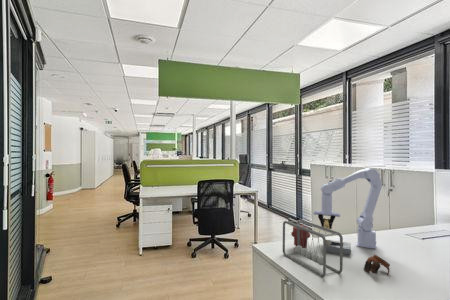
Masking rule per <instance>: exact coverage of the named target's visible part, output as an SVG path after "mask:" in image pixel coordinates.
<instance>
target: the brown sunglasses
mask: <svg viewBox="0 0 450 300" xmlns="http://www.w3.org/2000/svg"><path fill="white" fill-rule="evenodd" d="M381 266H383V267H384V268H385V269H387V272H386V274H387V275H389V273H390V266H391V264H390V263H389V262H387V261H386V260H385V259H383V258H382V257H380V256H378V255H376V254H373V255H372V256H370V257H368V258H367V260H366V261H365V264H364V267H363V271H365V272H366V273H368V274H370V272H371V274H375V275H377V274H378V271H379V270H380V268H381Z"/></svg>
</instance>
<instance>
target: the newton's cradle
mask: <svg viewBox="0 0 450 300" xmlns="http://www.w3.org/2000/svg"><path fill="white" fill-rule="evenodd" d="M294 222H295V223H294ZM296 222H297V223H296ZM286 224H287V225H289V226H292V227H293V226H294V227H297V228H298V236H297V246H295V247H294V249H295V252H292V253H286ZM300 225H303V226H306V227H307V226H308V228H305V227H303V226H300ZM309 226H310V227H309ZM297 228H296V231H297ZM310 228H312V229H310ZM313 228H314V229H315V228H316V229H315V230H314V229H313ZM300 229H302V230H301V232H302V231H303V230H304V231H306V232H309V233H310V234H311V235H312V240H311V241H312V243H311V244H310V245H311V246H310V245H309V242H308V240H309V238H308V237H307V239H306V242H307V247H312V245H315V243H314V236H316V237H317V242H320V239H319V238H321V239H322V243H323V244H322V254H321V251H319V254H320V255H319V254H318V250H316V251H315V248H313V249H314V252H313V251H312V249H308V248H306V246H305V248H302V247H301V246H300V242H301V241H300ZM317 230H318V231H317ZM323 230H324V231H323ZM321 231H323V233H324V232H325V231H326V232H325V234H323V233H322V232H321ZM327 233H329V234H327ZM307 235H308V233H307ZM334 235H337V236H339V241H340V255H339V270H338V269H337V268H334V267H332V266H330V265H328V264H327V253H326V240H327V239H326V237H327V236H334ZM301 237H302V239H303V236H302V235H301ZM343 240H344V238H343V235H342V234H341V233H340V232H338V231H336V230H332V229H327V228H324V227H322V226H321V225H319V224H315V223H312V222H310V221H307V220H304V219H302V218H301V219H298V220H291V221H287V220H285V221H283V222H282V254H283V256H285V257H287V258H288V259H290V260H291V259H292V260H291V261H293V262H295V263H297V264H298V265H300V266H301V267H303V268H306V269H307V270H309V271H310V272H312V273H314V274H316V275H318V276H319V277H321V278H325V276H327V275H331V274H332V275H333V274H341V273H343V266H344V265H343V261H344V259H343V258H344V257H343V256H344V255H343V242H344V241H343ZM316 244H317V245H316V246H317V247H316V248H319V249H321V248H320V244H319V243H316ZM303 245H304V243H303ZM318 246H319V247H318ZM296 254H300V255H301V256H303V257H306V259H308V260H312V262H314V263H317V264H318V265H320V266H322V273H321V272H319V271H317V270H315V269H314V268H312V267H310V266H308V265H307V264H305V263H303V262H301V261H299V260H298V259H296V258H294V257H292V256H290V255H296ZM327 268H328V269H329V270H331V271H333V272H329V273H328V272H327Z"/></svg>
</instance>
